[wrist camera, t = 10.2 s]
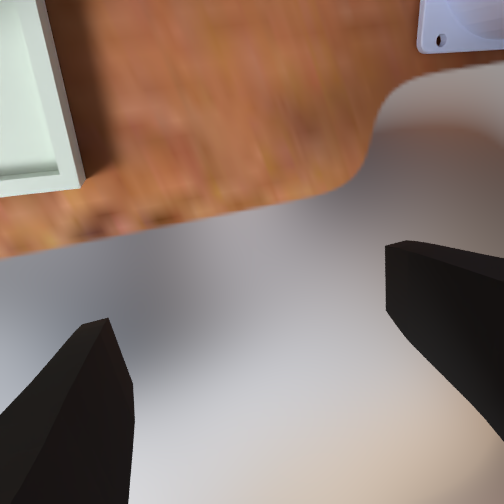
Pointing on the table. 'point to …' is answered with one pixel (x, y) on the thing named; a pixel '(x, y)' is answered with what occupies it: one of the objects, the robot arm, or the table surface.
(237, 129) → the table surface
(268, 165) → the table surface
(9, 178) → the sage tray
